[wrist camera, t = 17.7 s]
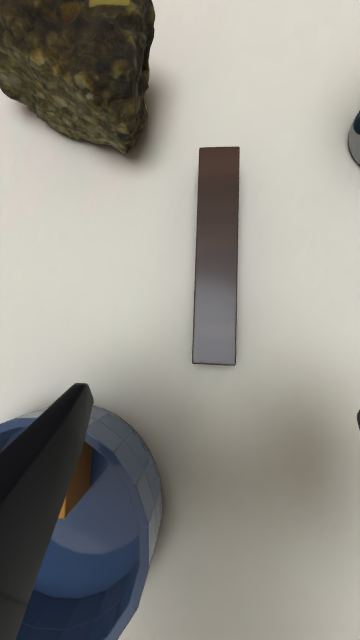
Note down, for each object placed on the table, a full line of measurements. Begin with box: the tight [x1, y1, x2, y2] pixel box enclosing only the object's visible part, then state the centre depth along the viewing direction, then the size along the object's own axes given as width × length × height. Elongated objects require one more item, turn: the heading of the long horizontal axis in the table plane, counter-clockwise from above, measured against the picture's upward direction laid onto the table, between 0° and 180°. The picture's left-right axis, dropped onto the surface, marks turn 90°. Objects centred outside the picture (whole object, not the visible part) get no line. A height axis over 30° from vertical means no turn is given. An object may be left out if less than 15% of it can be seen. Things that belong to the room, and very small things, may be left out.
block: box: [58, 441, 92, 519], centre depth 17 cm, size 3×3×3 cm
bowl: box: [0, 406, 162, 640], centre depth 17 cm, size 13×13×4 cm
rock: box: [0, 0, 155, 154], centre depth 19 cm, size 12×9×8 cm
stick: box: [192, 147, 240, 366], centre depth 19 cm, size 3×3×14 cm
